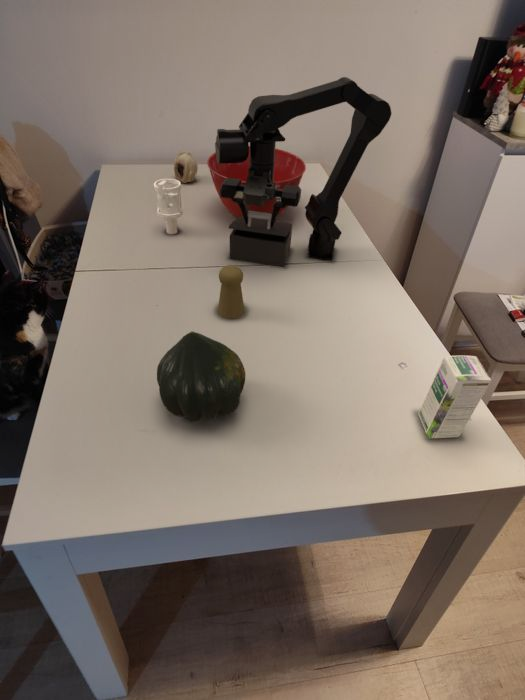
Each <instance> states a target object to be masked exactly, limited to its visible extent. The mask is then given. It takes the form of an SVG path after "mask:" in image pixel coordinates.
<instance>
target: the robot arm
mask: <svg viewBox="0 0 525 700" xmlns="http://www.w3.org/2000/svg"><path fill="white" fill-rule="evenodd" d="M342 103H347V104H348V105H349V106H350V107H352V108H353V109H354V111H353V114H352V117H351V125H350V132H349V136H348V138H347V140H346V142H345V143H344V146H343V148H342V150H341V152H340V154H339V156H338V158H337V160H336V162H335V164H334V167H333V169H332V171H331V172H330V174H329V176H328V179H327V181H326V183H325V185H324V187H323V189H322V190H321V192H319V193H318V194H317V195H315V194H314V193H312V194H311V195H310V197H309V200H308V202H307V204H306V205H305V206H304V209H305V212H304V216H305V219H306V221H307V222H308V224H309V225H310V226H311V228H312V229H313V230H312V233H310V235H309V238H308V247H307V252H308V256H307V257H308V258H311V259H317V260H318V259H319V260H326V261H333V260H334V253H335V249H336V248H335V245H336V241H337V240H339V239H340V237H341V236H342V234H343V233H342V231H341V229H340V228H339V227H338V226H337V224H336V220H337V217H338V214H339V204H340V200H341V197H342V196H343V194H344V192H345V190H346V188H347V186H348V185H349V182H350V180H351V178H352V177H353V174H354V173H355V171H356V169H357V167H358V165H359V163H360V161H361V159H362V157H363V155H364V153H365V152H366V149H367V147H368V146H369V144H370V143H371V142H372V141H373V140H375V139H376V138H377V137H379V136H380V134H381V133H382V132H383V130H384V129H385V127H386V126H387V125H388V123H389V122H390V119H391V117H392V109H391V106H390V103H389V102H387V101H386V100H384V99H383V98H381V97H379V96H378V95H377V94H374V93H368V92H366V91H365V90H364V89H362V87H360V86H359V85H358V83H356V81H354V80H353V79H351V78H349V77H348V76H342V77H340V78H338V79H337V80H333V81H330V82H327V83H324V84H320V85H317V86H313V87H310V88H307V89H304V90H301V91H297V92H294V93H290V94H267V95H258V96H256V97H254V98H252V99H251V102H250V104H249V105H248V110H247V114H246V115H245V116H244V118H242V119H243V120H242V121H241V122H240V124H239V125H238V129H225V128H217V130H216V137H215V143H214V152H216V159H217V163H218V164H224V163H243V162H244V161H246V159H247V158H248V155H249V146H250V157H249V172H248V177H247V180H246V184H245V185H242V181H241V179H234V178H227V179H226V180H225V181H224V182H223V183H222V185H221V186H220V196H221V197H224V198H231V199H232V201H233V202H236V203H237V204H238V205H239V207H240V209H241V211H242V214H243V217H244V220H245V223H246V224H248V211H249V205H250V204H251V205H257V206H264V205H265V202H266V201H269V200H274V197H275V198H276V201H275V203H274V205H273V213H272V219H271V228H272V227H273V225H274V222H275V221H277V217H278V216H277V215H278V213H279V211H280V209H281V208H286V206H287V207H293V208H295V207H296V208H297V207H298V206H299V203H300V201H301V196H302V188H301V187H300V185H299V186H291V185H285V187H284V189H275V184H273V179H274V161H275V149H276V145H277V143H278V142H279V143H280V142H281V143H282V142H285V141H286V137H285V136H283V134H282V133H281V131H280V128H283V127H284V126H286V125H287V124H288V123H289V122H290V121H292V120H293V119H295V118H297V117H301V116H304V115H307V114H311V113H313V112H316V111H320V110H324V109H326V108H330V107H333V106H337V105H340V104H342ZM286 209H287V208H286Z"/></svg>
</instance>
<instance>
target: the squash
mask: <svg viewBox="0 0 525 700" xmlns="http://www.w3.org/2000/svg"><path fill="white" fill-rule="evenodd" d="M156 381H157V385H158V391H159V392H158V393H159V396H160V399H161V402H162V405H163V406H164V407H165V408H166V410H167V411H168V412H169V413H170V414H172V415H174V416H176V417H181V418H183V417H184V418H186V419H187V420H188V421H190V422H193V423H195V422H199V421H200V420H201V418H202V417H203V418H204V419H206V420H213V419H215V418H216V417H217V415H219V416H230V415H231V414H233V413H234V412H235V411H236V410H237V409H238V407H239V404H240V400H241V394H242V392H243V390H244V387H245V383H246V369H245V367H244V364H243V361H242V360H241V358H240V356H239V355H238V354H237V353H236V352H235V351H233V350H232V349H231V348H230V347H228V346H227V345H225V344H224V343H222V342H220V341H218V340H215V339H212V338H210V337H208V336H207V335H204V334H202V333H199V332H195V331H194V330H193V331H189V332H188V333H186V334H185V335H184V336H183V337H182V338H181V339H179V340H178V341H177V343H175V344H174V345H173V346H172V347H170V348H169V350H167V352H166V353H165V354H164V355H163V356H162V358H161V359H160V360H159V363H158V365H157V368H156Z"/></svg>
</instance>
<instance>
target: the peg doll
mask: <svg viewBox="0 0 525 700" xmlns="http://www.w3.org/2000/svg"><path fill="white" fill-rule="evenodd" d="M218 279H219V282H220V283H221V284H220V290H219V291H220V292H219V299H218V307H217V314H218V315H219V316H220V317H222V318H223V319H227V320H235V319H239V318H241V317H242V316H243V315H245V303H244V297H243V291H242V283H243V280H244V273H243V270H242V268H241V267H239V266H237V265H230V264H229V265H224V266H223V267H222V268H221V269H220V270H219V271H218Z"/></svg>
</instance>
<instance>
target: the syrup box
mask: <svg viewBox="0 0 525 700" xmlns="http://www.w3.org/2000/svg"><path fill="white" fill-rule="evenodd" d="M491 382H492V379H491V377H490V376H489V374H488V373H487V371H486V370H485V367H484V366H483V364H482V363H481V361H480V359H479V358H478V356H477V355H461V354H460V355H446V356H444V357H443V358H442V360H441V363H440V364H439V367H438V369H437V371H436V374H435V376H434V378H433V380H432V382H431V384H430V387H429V389H428V391H427V393H426V396H425V397H424V400H423V402H422V404H421V407H420V409H419V411H418V414H417V415H418V417H419V419H420V422H421V425H422V427H423V429H424V431H425V434H426V437H427V438H428V439H449V438H459V437H460V436H461V434H462V432H463V431H464V429H465V427H466V425H467V424H468V423H469V420H470V418H471V417H472V416H473V414H474V412H475V410H476V408H477V406H478V405H479V403H480V402H481V400H482V398H483V396H484V394H485V393H486V391H487V390H488V388H489V386H490V384H491Z"/></svg>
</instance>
